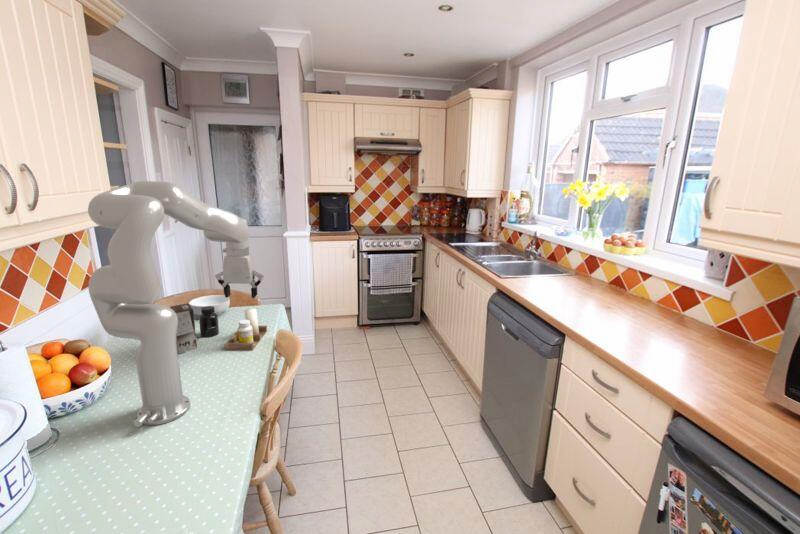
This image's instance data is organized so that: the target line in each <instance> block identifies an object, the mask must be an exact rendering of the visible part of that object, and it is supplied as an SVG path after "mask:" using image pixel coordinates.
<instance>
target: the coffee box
mask: <svg viewBox="0 0 800 534" xmlns="http://www.w3.org/2000/svg"><path fill="white" fill-rule="evenodd" d="M169 308H171V309H172V310H174V312H175V313H176V315H177V318H178V326H177V335H176V344H177V353H178V354H184V353H186V352H189V351H193V350H196V349H198V343H197V335H196V333H197V332H196V325H195V314H194V313H193V309H192V307H191V306H190V305H189V302H188V303H181V304H176V305H172V306H169Z"/></svg>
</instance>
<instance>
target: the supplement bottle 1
mask: <svg viewBox="0 0 800 534" xmlns="http://www.w3.org/2000/svg"><path fill="white" fill-rule="evenodd" d="M201 313H202V314H201V315H198V321H199V322H198V323H199V333H200V337H201V338H206V339H207V338H208V339H209V338H213V337H216V336H218V335H219V333H220V330H219V329H220V328H219V315H217V314H216V313H215V309H214V307H213V306H205V307H202V308H201Z"/></svg>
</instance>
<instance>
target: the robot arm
mask: <svg viewBox="0 0 800 534" xmlns="http://www.w3.org/2000/svg"><path fill="white" fill-rule="evenodd" d="M87 213H88V216H89V217H90V220H91V221H92V222H93V223H94V224H96V225H98V226H99V227H102V228H107V229H116V231H115V232H114V234H113V235H112V237H111V238H110V241H109V243H108V245H107V256H108V260H109V263H110V265H108V264H107V265H104V266H103V265H102V266H100V267H99V268H97V269H95V270H94V271H93V273H92V274H91V275H90V278H89V280H88V294H89V297H90V300H91V302H92V305H93V307H94V309H95V312H96V315H97V316H98V319H99V321H100V324H101V326H102V328H103V329H104V331H105V332H106V333H107V334H108V335H110V336H112V337H115V338H119V339H120V338H121V339H130V340H135V341H140V345H139V347H138V349H137V351H136V352H135V353H136V354H135V365H136V371H137V377H138V383H139V389H140V398H141V401H142V402H141V403H142V406H141V407H140V408H139V410H138V411H137V414H136V417H137V418H136V419H135V420H134V422H133V425H134V426H135V427H137V428H138V427H141V426H142V425H148V426H155V425H162V424H166V423H170V422H172V421H174V420H176V419H179V418H180V417H181V416H183V415H184V414H186V412H187V411H189V409H190V407H191V401H190V398H189V397H188V396H185V395H183V387H182V386H183V385H182V378H181V372H180V371H181V369H180V364H179V361H180V360H179V355H178V354H179V353H178V350H177V344H176V335H177V326H178V318H177V315H176V313H175V312H174V310H172V309H171V308H170V306H166V305H163V304H157V303H156V304H155V301H158V299H159V298H160V296H161V294H162V286H161V281H160V279H159V276H158V272H157V269H156V265H155V262H154V259H153V254H152V249H151V244H152V241H153V238H154V236H155V234H156V232H157V231H158V229H159V227H160V226H161V224H162V222H163V220H164V217H165V215H166V216H167V217H170V218H171V219H174V220H175V221H177V222H179V223H181V224H182V225H185V226H186V227H189V228H191V229H195V230H200V231H203V232H202V233H203V234H204V237H205V238H206V239H207V240H209V241H211V242H215V243H216V242H217V243H225V248H222V253H225V255H224V257H223V264H222V265H223V266H222V271H221V272H218V273H217V274H215V275H214V276H215V279H216V280H217V282H218V284H220V285H221V287H222V288H223V295H224V296H225V298H227V297H229V298H230V296H231V285H229V284H233V285H234V284H235V285H236V284H237V285H238V284H241V285H247V284H249V285H250V286H251V288H250V291H251V299H255V298H256V297H257V296H258V286H259V285H260V284H261V283H262V281H263V280H264V277H265V276H264V275H263V274H262V273H260V272H258V271H255V267H254V261H253V257H252V255H251V254H250V249H249V248H250V247H249V237H250V228H249V226H248V221H247V220H246V219H245V218H243V217H239V216H238V215H237V214H234V213H233V212H231V211H227V210H225V209H222V208H220V207H216V206H214V205H212V204H208V203H206V202H204V201H202V200H201V199H199V198H197V197H196V196H195V195H193V194H191V192H189V191H187V190H185V189H184V188H182V187H181V186H179V185H177V184H175V183H173V182H170V181H154V180H139V181H135V182H131V183H127V184H125V185H122V186H118V187H116V188H113V189H110V190H107V191H104V192H101V193H98V194H97V195H95V196H94V197H93V198H91V200H90V201H89V203H88V207H87ZM222 277H223V278H222ZM255 277H256V278H257V281H256V280H255V279H256V278H255Z"/></svg>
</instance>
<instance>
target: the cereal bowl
mask: <svg viewBox="0 0 800 534" xmlns="http://www.w3.org/2000/svg"><path fill="white" fill-rule="evenodd" d="M188 304H189V305H190V306H191V307H192V309H193V313H194V315H196V316H200V315H201V314H202V313H201V308H202V307H205V306H213V307H214V309H215V313H216V314H217V315H218V316H219V315H220V314H222V313H224V312H226V311H227V310H228V308H229V307H230V304H231V300H230V296H229V297H227V298H225V295H224V294H222V295H221V294H212V295H209V294H208V295H204V296H203V295H202V296H200V297H196V298H192V299H191V300H190V301H189V302H188Z"/></svg>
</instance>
